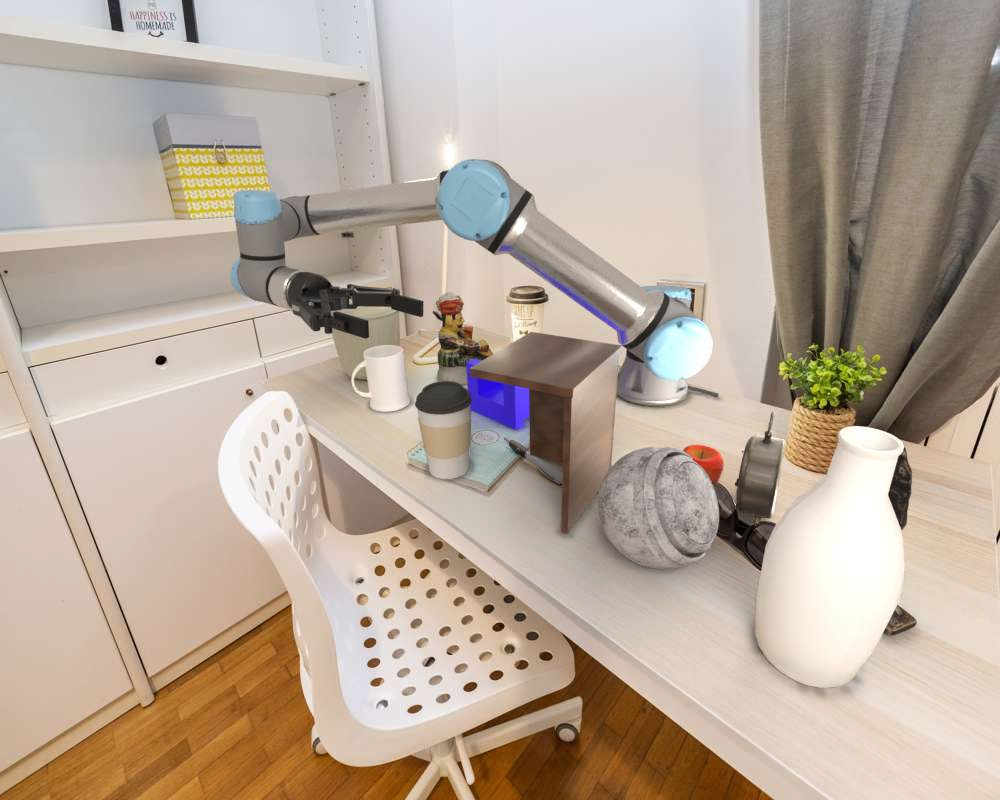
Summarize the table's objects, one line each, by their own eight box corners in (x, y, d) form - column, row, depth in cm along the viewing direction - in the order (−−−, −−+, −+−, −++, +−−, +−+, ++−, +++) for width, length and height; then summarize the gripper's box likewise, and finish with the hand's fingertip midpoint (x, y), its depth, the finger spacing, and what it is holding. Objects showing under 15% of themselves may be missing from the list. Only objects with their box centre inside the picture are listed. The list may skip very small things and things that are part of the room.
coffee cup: (412, 476, 85) (402, 394, 79) (438, 450, 93) (431, 373, 86) (461, 487, 82) (455, 402, 76) (484, 458, 89) (480, 379, 83)
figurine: (476, 391, 115) (471, 304, 107) (422, 380, 122) (413, 297, 114) (503, 373, 125) (500, 291, 116) (451, 363, 132) (445, 285, 123)
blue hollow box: (515, 430, 98) (514, 380, 94) (469, 409, 107) (466, 362, 103) (583, 395, 111) (585, 350, 107) (536, 379, 120) (536, 336, 116)
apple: (666, 486, 81) (671, 444, 77) (697, 477, 83) (704, 436, 79) (694, 509, 75) (701, 465, 72) (727, 498, 77) (735, 455, 74)
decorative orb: (681, 615, 58) (699, 507, 52) (573, 559, 67) (577, 460, 60) (727, 544, 68) (746, 447, 62) (628, 503, 77) (636, 414, 70)
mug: (361, 419, 105) (352, 364, 99) (350, 404, 111) (341, 352, 106) (416, 405, 110) (409, 353, 104) (402, 392, 116) (396, 341, 111)
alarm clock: (766, 541, 69) (792, 435, 62) (723, 528, 71) (743, 425, 64) (776, 498, 77) (799, 400, 70) (737, 488, 80) (756, 392, 73)
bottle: (828, 724, 47) (918, 493, 36) (722, 638, 55) (768, 430, 44) (888, 664, 52) (982, 446, 41) (782, 593, 60) (837, 398, 50)
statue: (889, 642, 54) (955, 484, 46) (828, 595, 60) (876, 447, 51) (916, 629, 55) (984, 473, 47) (853, 584, 61) (904, 438, 53)
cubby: (477, 504, 78) (469, 368, 68) (531, 451, 91) (530, 331, 82) (568, 536, 71) (573, 389, 61) (612, 473, 84) (622, 345, 75)
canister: (384, 354, 139) (374, 276, 130) (423, 371, 127) (414, 286, 118) (322, 373, 128) (305, 289, 119) (357, 393, 116) (342, 302, 107)
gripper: (354, 298, 103) (440, 321, 94) (244, 330, 83) (341, 364, 75) (351, 260, 100) (441, 281, 91) (236, 284, 80) (337, 314, 71)
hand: (396, 318), depth 83 cm, fingers open, 13 cm apart
